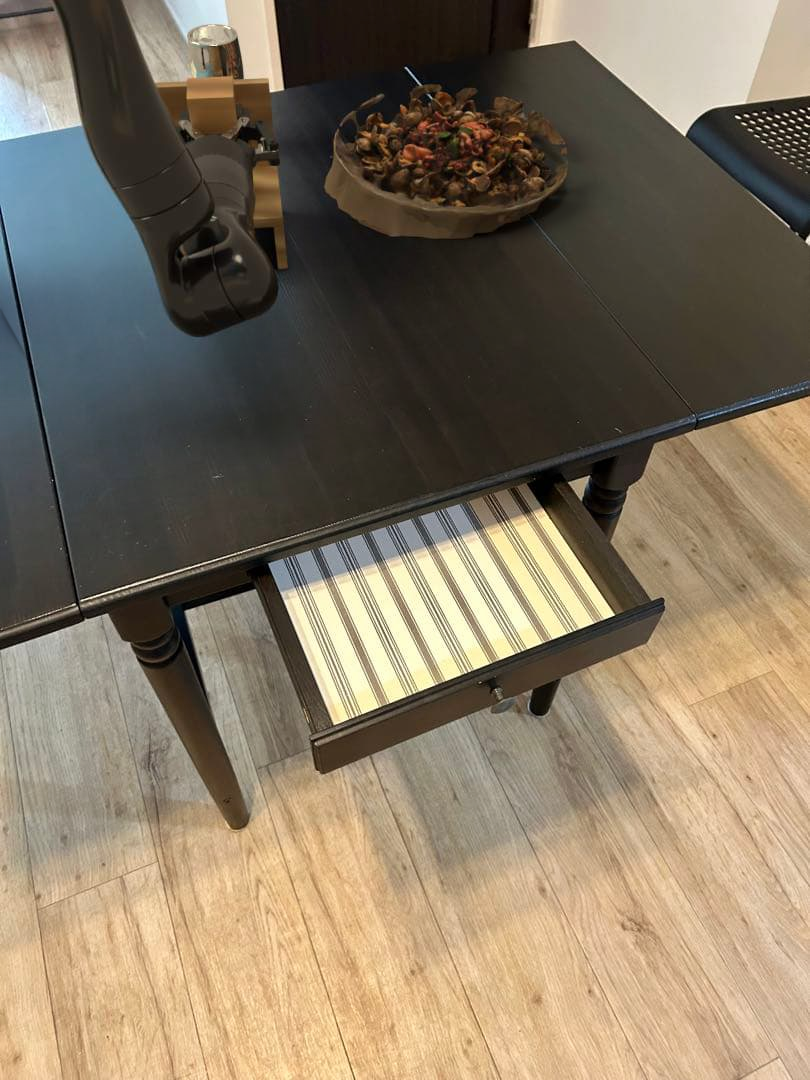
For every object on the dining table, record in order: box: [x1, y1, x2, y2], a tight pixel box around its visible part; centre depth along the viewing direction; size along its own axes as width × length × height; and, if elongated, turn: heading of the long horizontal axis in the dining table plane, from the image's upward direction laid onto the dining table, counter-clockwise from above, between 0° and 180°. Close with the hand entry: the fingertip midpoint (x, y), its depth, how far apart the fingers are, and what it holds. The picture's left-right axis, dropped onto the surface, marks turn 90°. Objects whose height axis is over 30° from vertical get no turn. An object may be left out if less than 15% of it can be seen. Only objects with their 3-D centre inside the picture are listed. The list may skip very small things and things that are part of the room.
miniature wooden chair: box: [155, 77, 289, 270], centre depth 99 cm, size 13×13×17 cm
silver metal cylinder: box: [186, 23, 245, 80], centre depth 114 cm, size 7×7×15 cm
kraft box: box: [186, 76, 237, 135], centre depth 94 cm, size 5×5×10 cm
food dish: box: [323, 84, 569, 240], centre depth 115 cm, size 35×33×8 cm
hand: (215, 113), depth 95 cm, fingers closed on kraft box, 5 cm apart
